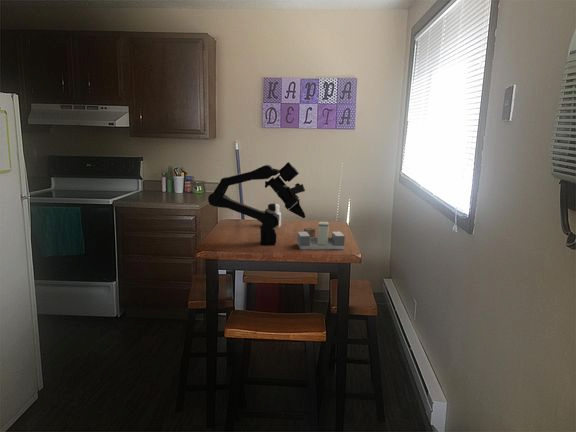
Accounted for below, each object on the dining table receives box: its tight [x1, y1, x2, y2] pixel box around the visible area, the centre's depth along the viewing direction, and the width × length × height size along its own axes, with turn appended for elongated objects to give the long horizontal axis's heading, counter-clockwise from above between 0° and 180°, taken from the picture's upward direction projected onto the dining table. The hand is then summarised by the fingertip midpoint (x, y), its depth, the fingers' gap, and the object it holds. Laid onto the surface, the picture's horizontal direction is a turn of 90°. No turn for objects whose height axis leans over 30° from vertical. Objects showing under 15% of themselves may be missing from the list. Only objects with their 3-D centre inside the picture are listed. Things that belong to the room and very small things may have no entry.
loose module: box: [317, 221, 330, 245], centre depth 191 cm, size 4×5×9 cm
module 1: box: [297, 231, 310, 246], centre depth 190 cm, size 4×8×4 cm, turn 7°
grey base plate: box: [296, 236, 345, 250], centre depth 192 cm, size 19×10×3 cm, turn 97°
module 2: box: [331, 231, 346, 246], centre depth 192 cm, size 4×8×4 cm, turn 7°
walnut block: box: [303, 227, 316, 237], centre depth 210 cm, size 4×4×4 cm
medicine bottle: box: [267, 203, 282, 229], centre depth 232 cm, size 7×7×12 cm
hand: (304, 216), depth 191 cm, fingers open, 9 cm apart
